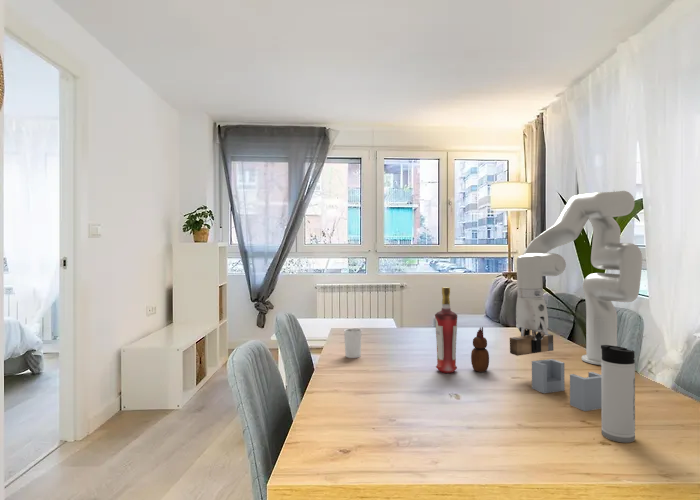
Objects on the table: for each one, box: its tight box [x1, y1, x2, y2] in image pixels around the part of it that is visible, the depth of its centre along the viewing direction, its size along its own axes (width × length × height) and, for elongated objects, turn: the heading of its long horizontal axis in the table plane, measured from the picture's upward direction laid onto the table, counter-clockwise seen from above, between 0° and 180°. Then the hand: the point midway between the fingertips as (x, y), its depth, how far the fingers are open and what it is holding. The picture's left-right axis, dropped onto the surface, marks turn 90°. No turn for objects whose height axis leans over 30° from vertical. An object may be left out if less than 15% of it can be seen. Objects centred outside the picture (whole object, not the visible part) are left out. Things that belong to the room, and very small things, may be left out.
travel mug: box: [600, 345, 636, 444], centre depth 97 cm, size 6×7×20 cm
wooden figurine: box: [470, 326, 490, 373], centre depth 149 cm, size 7×6×15 cm
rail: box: [509, 333, 554, 356], centre depth 142 cm, size 3×14×5 cm, turn 108°
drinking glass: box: [343, 327, 362, 359], centre depth 170 cm, size 7×7×10 cm
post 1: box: [531, 358, 566, 394], centre depth 129 cm, size 7×5×8 cm, turn 108°
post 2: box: [569, 371, 602, 412], centre depth 115 cm, size 7×5×8 cm, turn 108°
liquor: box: [434, 286, 458, 374], centre depth 148 cm, size 7×7×28 cm
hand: (531, 350), depth 142 cm, fingers closed on rail, 3 cm apart
